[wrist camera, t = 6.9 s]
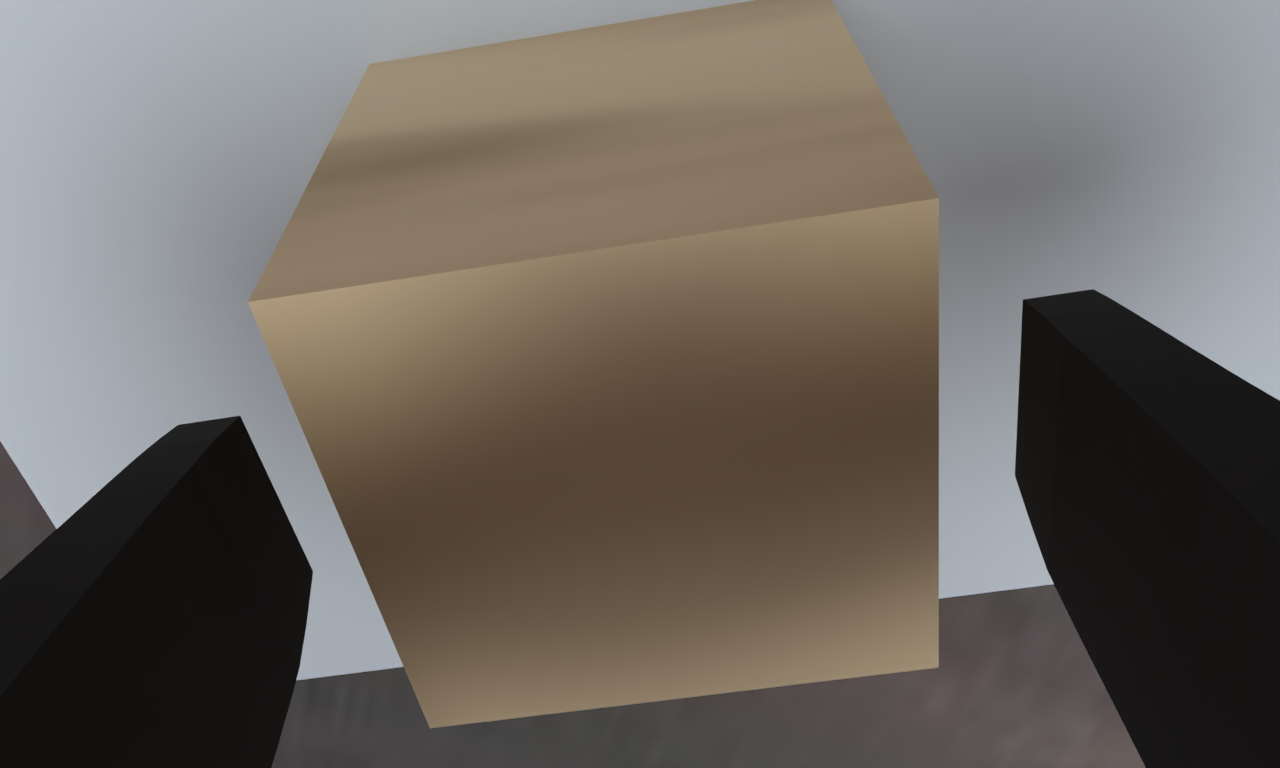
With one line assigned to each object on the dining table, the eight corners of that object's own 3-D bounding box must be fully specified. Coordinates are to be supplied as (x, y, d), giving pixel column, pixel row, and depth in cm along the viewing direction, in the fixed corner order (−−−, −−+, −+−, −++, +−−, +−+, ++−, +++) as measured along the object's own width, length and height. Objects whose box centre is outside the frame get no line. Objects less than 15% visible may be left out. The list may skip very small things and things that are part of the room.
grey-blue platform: (1206, 431, 19) (1292, 553, 17) (217, 566, 21) (164, 697, 18) (1394, -643, 11) (1614, -707, 9) (-254, -304, 13) (-463, -279, 10)
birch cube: (847, 368, 15) (937, 667, 11) (478, 420, 15) (430, 728, 11) (825, -12, 12) (939, 197, 8) (369, 63, 12) (249, 301, 8)
